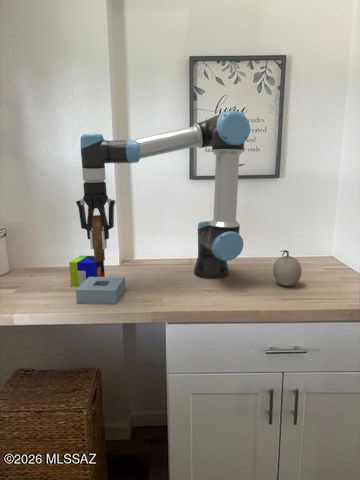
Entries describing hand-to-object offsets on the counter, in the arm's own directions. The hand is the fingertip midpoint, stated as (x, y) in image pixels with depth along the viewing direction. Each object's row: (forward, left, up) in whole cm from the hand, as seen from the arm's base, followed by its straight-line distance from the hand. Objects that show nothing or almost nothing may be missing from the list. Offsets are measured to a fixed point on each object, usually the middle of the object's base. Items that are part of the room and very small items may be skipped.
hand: (99, 248), depth 124 cm
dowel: (0, 0, -4) cm, 4 cm away
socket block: (0, 0, -18) cm, 18 cm away
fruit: (-69, -15, -18) cm, 73 cm away
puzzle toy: (+10, -15, -18) cm, 26 cm away
